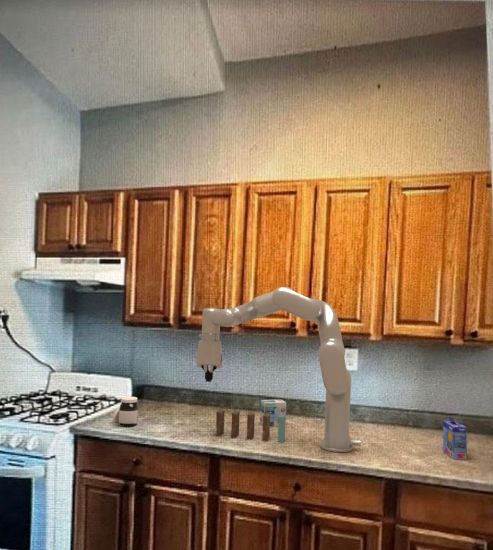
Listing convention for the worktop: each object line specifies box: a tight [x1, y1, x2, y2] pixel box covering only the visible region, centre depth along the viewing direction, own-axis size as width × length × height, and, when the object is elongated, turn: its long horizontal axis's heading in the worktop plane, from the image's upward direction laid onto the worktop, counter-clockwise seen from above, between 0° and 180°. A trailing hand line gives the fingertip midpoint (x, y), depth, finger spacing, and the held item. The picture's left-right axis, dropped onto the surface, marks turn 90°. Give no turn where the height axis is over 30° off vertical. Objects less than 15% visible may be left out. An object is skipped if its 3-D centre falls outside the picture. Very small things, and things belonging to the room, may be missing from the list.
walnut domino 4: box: [261, 413, 271, 442], centre depth 210 cm, size 2×5×10 cm, turn 167°
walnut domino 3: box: [246, 411, 256, 441], centre depth 212 cm, size 2×5×10 cm, turn 167°
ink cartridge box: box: [442, 416, 468, 461], centre depth 197 cm, size 10×6×14 cm, turn 2°
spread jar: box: [112, 396, 139, 428], centre depth 227 cm, size 12×11×12 cm
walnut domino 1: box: [215, 408, 226, 437], centre depth 215 cm, size 2×5×10 cm, turn 167°
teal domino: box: [277, 414, 287, 444], centre depth 209 cm, size 2×5×10 cm, turn 166°
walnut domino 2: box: [230, 410, 240, 439], centre depth 213 cm, size 2×5×10 cm, turn 167°
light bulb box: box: [259, 399, 287, 428], centre depth 234 cm, size 11×7×11 cm, turn 105°
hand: (208, 381), depth 217 cm, fingers closed
